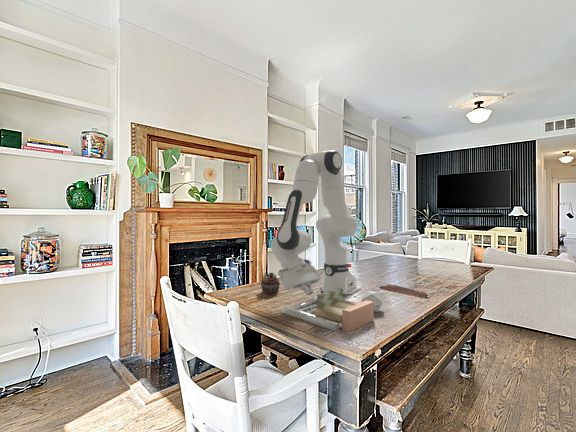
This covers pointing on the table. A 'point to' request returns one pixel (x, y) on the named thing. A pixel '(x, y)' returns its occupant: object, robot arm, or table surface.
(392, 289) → the wooden tablet
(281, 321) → the table surface
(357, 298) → the table surface
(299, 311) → the roller track
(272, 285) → the cupcake
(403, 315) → the table surface
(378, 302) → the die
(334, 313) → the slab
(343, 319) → the block
